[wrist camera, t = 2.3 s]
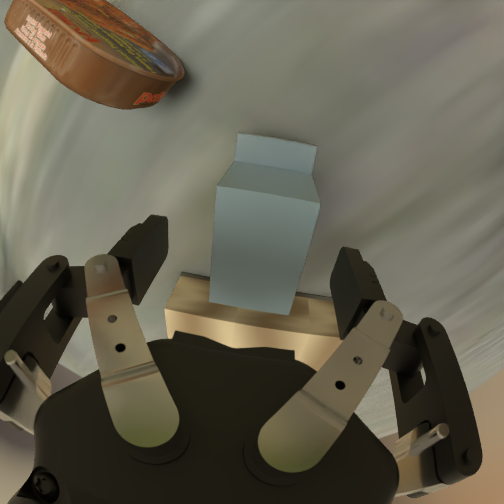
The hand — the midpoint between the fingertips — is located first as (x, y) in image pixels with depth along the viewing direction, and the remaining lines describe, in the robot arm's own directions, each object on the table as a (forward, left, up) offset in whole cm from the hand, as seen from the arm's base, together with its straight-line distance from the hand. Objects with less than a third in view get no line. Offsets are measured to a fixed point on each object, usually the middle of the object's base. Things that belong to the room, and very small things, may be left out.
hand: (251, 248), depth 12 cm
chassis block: (-2, +18, -7) cm, 20 cm away
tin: (+12, -11, -8) cm, 18 cm away
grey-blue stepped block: (0, 0, -7) cm, 7 cm away
